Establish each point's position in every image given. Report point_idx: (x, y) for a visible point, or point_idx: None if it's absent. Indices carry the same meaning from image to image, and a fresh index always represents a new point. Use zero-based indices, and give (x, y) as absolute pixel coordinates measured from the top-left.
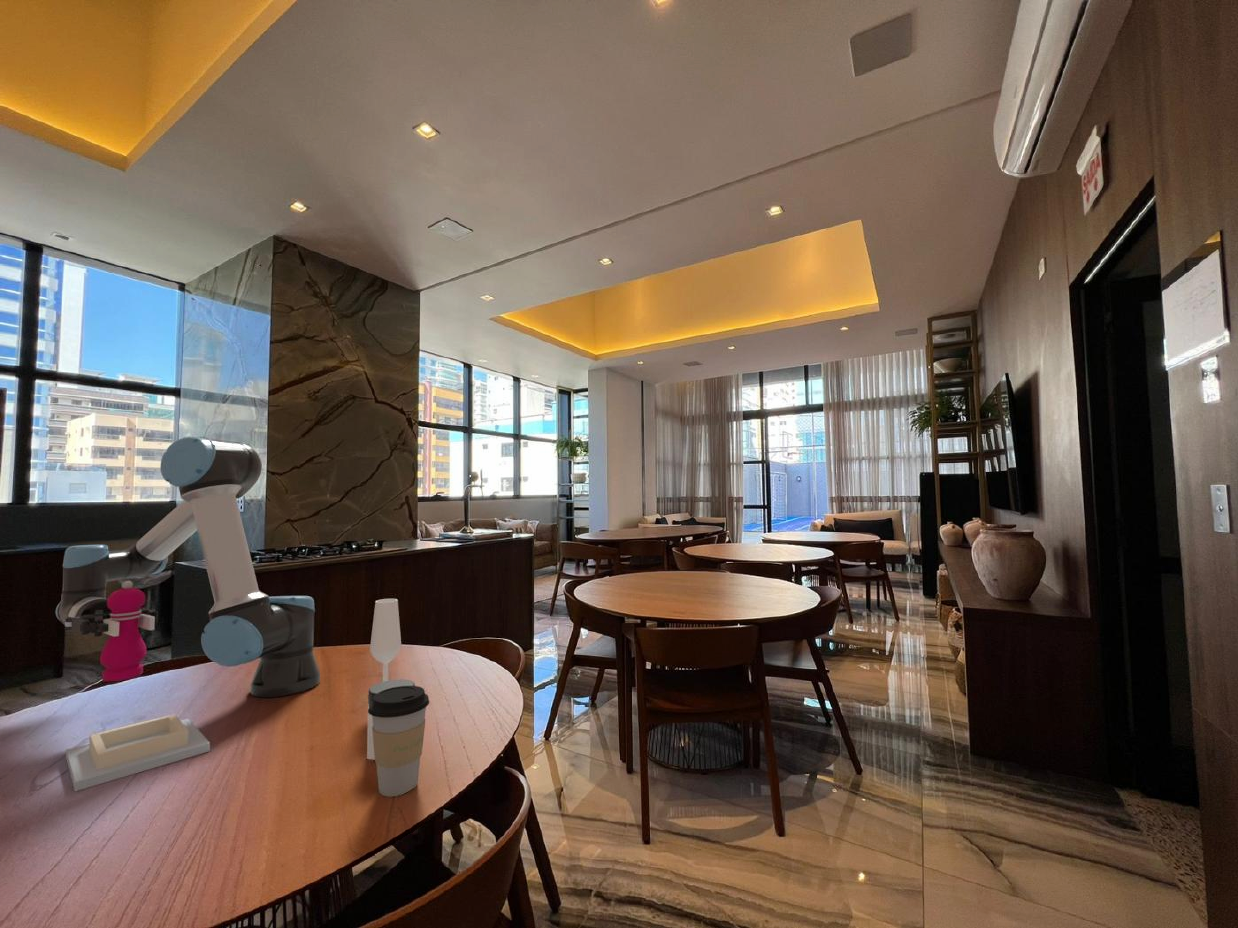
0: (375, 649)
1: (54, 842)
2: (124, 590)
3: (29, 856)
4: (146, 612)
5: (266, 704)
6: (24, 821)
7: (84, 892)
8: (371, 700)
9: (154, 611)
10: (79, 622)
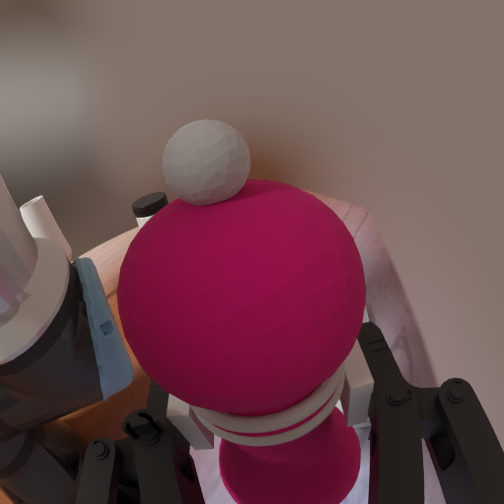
0: (68, 248)
1: (364, 247)
2: (249, 181)
3: (374, 241)
4: (146, 418)
5: (110, 425)
6: (392, 281)
7: (341, 210)
8: (166, 201)
9: (100, 443)
10: (488, 429)
